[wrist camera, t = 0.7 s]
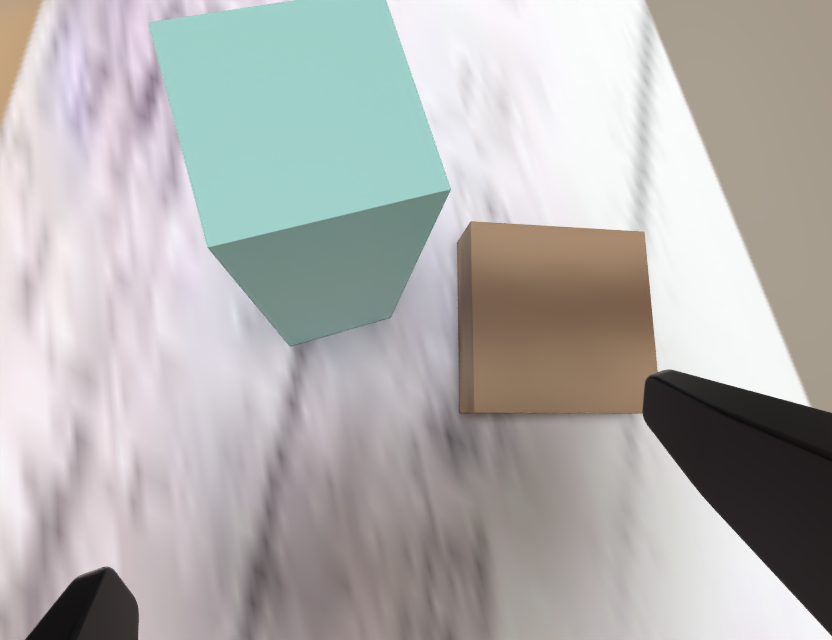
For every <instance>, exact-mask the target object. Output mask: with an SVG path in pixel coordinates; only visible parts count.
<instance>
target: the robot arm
mask: <svg viewBox="0 0 832 640" xmlns="http://www.w3.org/2000/svg"><path fill="white" fill-rule="evenodd" d="M642 412H643V417H644V420H645V422H646V423H647V425H648V426H649V428H650V429H651V430H652V432H653V433H654V434H655V436H656V437H657V438H658V440H659V441H660V442H661V443H662V445H663V446H664V447H665V449H666V450H667V451H668V453H669V454H670V455H671V456H672V458H673V459H674V460H675V462H676V463H677V464H678V466H679V467H680V468H681V470H682V471H683V472H684V473H685V475H686V476H687V477H688V479H689V480H690V481H691V483H692V484H693V485H694V486H695V487H696V489H697V490H698V491H699V492H700V494H701V495H702V496H703V497H704V498H705V499H706V500H707V502H708V503H709V504H710V505H711V506H712V507H713V508H714V509H715V510H716V512H717V513H718V514H719V515H720V516H721V517H722V518H723V519H724V520H725V521H726V522H727V523H728V525H729V526H730V527H731V528H732V529H733V530H734V531H735V532H736V533H737V534H738V535H739V536H740V537H741V539H742V540H743V541H744V542H745V543H746V544H747V545H748V546H749V547H750V548H751V549H752V550H753V551H754V553H755V554H756V555H757V556H758V557H759V558H760V559H761V560H762V561H763V562H764V563H765V564H766V566H767V567H768V568H769V569H770V570H771V571H772V572H773V573H774V574H775V575H776V576H777V577H778V578H779V580H780V581H781V582H782V583H783V584H784V585H785V586H786V587H787V588H788V589H789V590H790V591H791V592H792V594H793V595H794V596H795V597H796V598H797V599H798V600H799V601H800V602H801V603H802V604H803V605H804V607H805V608H806V609H807V610H808V611H809V612H810V613H811V614H812V615H813V616H814V617H815V618H816V619H817V621H818V622H819V623H820V624H821V625H822V626H823V627H824V628H825V629H826V630H827V631H828V632H829V634H830V635H831V636H832V413H830V412H826V411H822V410H819V409H815V408H812V407H808V406H804V405H800V404H797V403H793V402H789V401H786V400H782V399H778V398H774V397H771V396H767V395H763V394H760V393H756V392H752V391H749V390H745V389H741V388H737V387H734V386H730V385H726V384H723V383H719V382H715V381H711V380H708V379H704V378H700V377H697V376H693V375H689V374H686V373H682V372H678V371H674V370H663V371H661V372H658V373H655V374H652V375H650V376H648V377H647V379H646V380H645V386H644V397H643V408H642ZM138 623H139V611H138V605H137V602H136V599H135V597H134V596H133V594H132V593H131V592H130V590H129V589H128V588H127V586H126V585H125V584H124V582H123V581H122V580H121V578H120V577H119V576H118V574H117V573H116V572H115V571H114V570H113V569H112V568H110V567H102V568H99V569H97V570H94V571H91V572H88V573H85V574H82V575H80V576H78V577H77V578H75V579H74V580H73V581H72V582H71V583H70V585H69V586H68V587H67V588H66V590H65V591H64V592H63V593H62V595H61V596H60V597H59V598H58V599H57V601H56V602H55V603H54V604H53V606H52V607H51V608H50V609H49V611H48V612H47V613H46V614H45V615H44V617H43V618H42V619H41V620H40V622H39V623H38V624H37V625H36V627H35V628H34V629H33V630H32V632H31V633H30V634H29V635H28V636H27V638H26V639H25V640H138Z"/></svg>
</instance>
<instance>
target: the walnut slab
mask: <svg viewBox="0 0 832 640" xmlns="http://www.w3.org/2000/svg"><path fill="white" fill-rule="evenodd" d="M457 266H458V345H459V413H611V414H632V413H643V412H642V408H643V397H644V386H645V380H646V379H647V377H648V376H650V375H652V374H655V373H658V371H657V361H656V350H655V340H654V329H653V318H652V308H651V297H650V286H649V276H648V265H647V255H646V244H645V233H644V232H639V231H622V230H605V229H589V228H572V227H555V226H538V225H522V224H505V223H488V222H472V221H471V222H470V223H469V225H468V227H467V228H466V230H465V231H464V233H463V234H462V236H461V238H460V239H459V241H458V242H457Z"/></svg>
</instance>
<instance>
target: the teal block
mask: <svg viewBox="0 0 832 640" xmlns="http://www.w3.org/2000/svg"><path fill="white" fill-rule="evenodd" d="M148 23H149V27H150V31H151V34H152V38H153V42H154V46H155V50H156V53H157V57H158V61H159V65H160V69H161V72H162V76H163V80H164V84H165V88H166V91H167V95H168V99H169V103H170V107H171V110H172V114H173V118H174V122H175V126H176V129H177V133H178V137H179V141H180V145H181V148H182V152H183V156H184V160H185V164H186V167H187V171H188V175H189V179H190V183H191V186H192V190H193V194H194V198H195V202H196V205H197V209H198V213H199V217H200V221H201V224H202V228H203V232H204V236H205V240H206V243H207V247H208V249H209V250H210V251H211V252H212V253H213V255H214V256H215V257H216V258H217V259H218V261H219V262H220V263H221V264H222V265H223V267H224V268H225V269H226V270H227V271H228V273H229V274H230V275H231V276H232V277H233V279H234V280H235V281H236V282H237V283H238V285H239V286H240V287H241V288H242V289H243V291H244V292H245V293H246V294H247V295H248V297H249V298H250V299H251V300H252V301H253V303H254V304H255V305H256V306H257V307H258V309H259V310H260V311H261V312H262V313H263V315H264V316H265V317H266V318H267V319H268V321H269V322H270V323H271V324H272V325H273V327H274V328H275V329H276V330H277V331H278V333H279V334H280V335H281V336H282V337H283V339H284V340H285V341H286V342H287V343H288V345H289V346H293V345H297V344H300V343H304V342H307V341H311V340H314V339H318V338H321V337H325V336H328V335H332V334H335V333H338V332H342V331H345V330H349V329H352V328H356V327H359V326H363V325H366V324H370V323H373V322H377V321H380V320H384V319H387V318H390V317H391V315H392V313H393V311H394V309H395V307H396V305H397V302H398V300H399V298H400V296H401V294H402V292H403V290H404V288H405V286H406V283H407V281H408V279H409V277H410V275H411V273H412V271H413V269H414V266H415V264H416V262H417V260H418V258H419V256H420V254H421V252H422V250H423V247H424V245H425V243H426V241H427V239H428V237H429V235H430V233H431V231H432V228H433V226H434V224H435V222H436V220H437V218H438V216H439V214H440V211H441V209H442V207H443V205H444V203H445V201H446V199H447V197H448V195H449V192H450V190H451V188H450V185H449V182H448V179H447V176H446V173H445V170H444V167H443V164H442V162H441V159H440V156H439V153H438V150H437V147H436V144H435V141H434V138H433V135H432V132H431V130H430V127H429V124H428V121H427V118H426V115H425V112H424V109H423V106H422V103H421V100H420V98H419V95H418V92H417V89H416V86H415V83H414V80H413V77H412V74H411V71H410V68H409V66H408V63H407V60H406V57H405V54H404V51H403V48H402V45H401V42H400V39H399V37H398V34H397V31H396V28H395V25H394V22H393V19H392V16H391V13H390V10H389V7H388V5H387V2H386V0H294V1H288V2H281V3H274V4H268V5H261V6H254V7H248V8H241V9H234V10H228V11H221V12H214V13H208V14H201V15H194V16H188V17H181V18H174V19H168V20H161V21H154V22H148Z"/></svg>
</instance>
